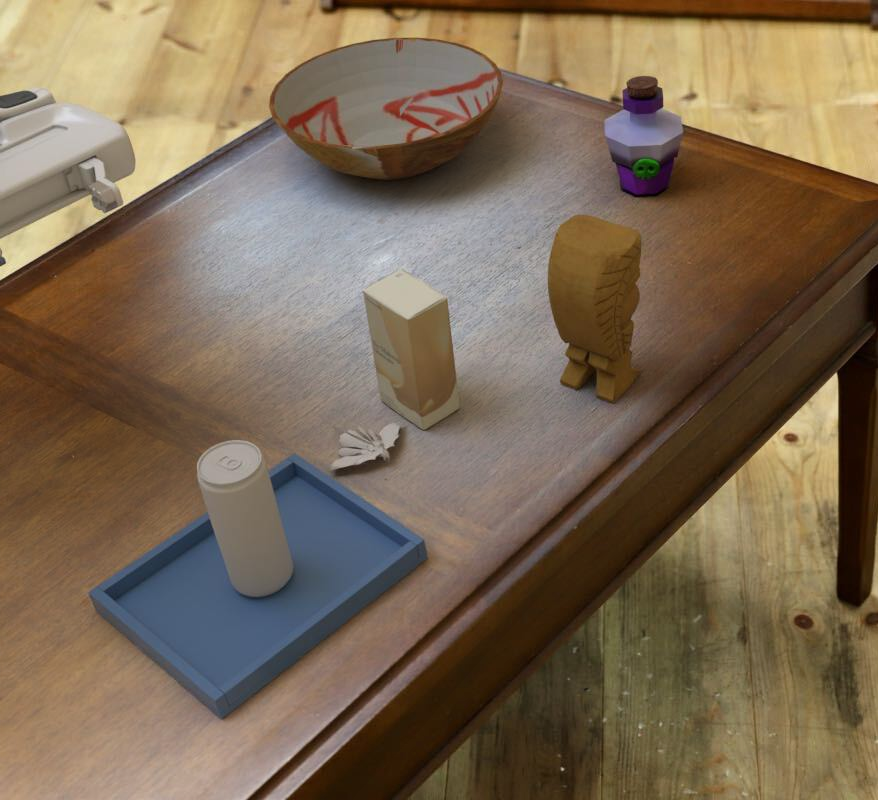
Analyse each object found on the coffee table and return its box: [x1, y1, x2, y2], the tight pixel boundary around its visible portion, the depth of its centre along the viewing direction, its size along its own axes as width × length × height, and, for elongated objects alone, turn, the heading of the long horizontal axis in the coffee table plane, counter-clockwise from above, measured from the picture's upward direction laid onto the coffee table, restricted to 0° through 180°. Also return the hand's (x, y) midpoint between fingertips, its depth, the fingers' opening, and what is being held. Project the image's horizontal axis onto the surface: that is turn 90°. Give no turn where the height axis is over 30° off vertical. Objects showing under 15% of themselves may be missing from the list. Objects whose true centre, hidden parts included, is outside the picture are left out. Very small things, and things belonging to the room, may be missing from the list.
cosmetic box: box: [362, 267, 461, 431], centre depth 116 cm, size 6×4×12 cm
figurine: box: [547, 214, 642, 404], centre depth 117 cm, size 7×7×15 cm
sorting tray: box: [87, 453, 428, 720], centre depth 104 cm, size 20×16×2 cm
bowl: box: [268, 37, 504, 181], centre depth 151 cm, size 25×25×8 cm
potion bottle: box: [604, 75, 684, 198], centre depth 143 cm, size 9×9×12 cm
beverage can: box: [196, 439, 293, 597], centre depth 101 cm, size 5×5×12 cm
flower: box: [329, 420, 403, 471], centre depth 116 cm, size 8×8×3 cm
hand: (55, 229), depth 96 cm, fingers open, 8 cm apart
